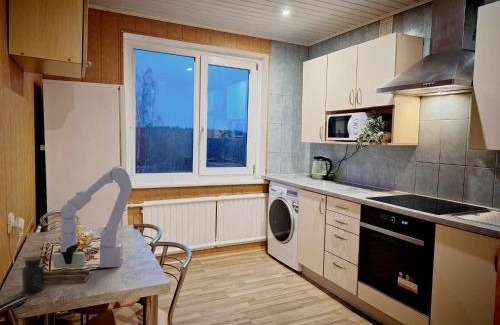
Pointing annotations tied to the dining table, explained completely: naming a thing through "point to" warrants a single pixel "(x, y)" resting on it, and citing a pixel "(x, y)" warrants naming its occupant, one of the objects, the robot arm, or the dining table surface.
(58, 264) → the door panel
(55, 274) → the brown flat wooden board
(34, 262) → the supplement bottle
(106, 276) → the dining table surface
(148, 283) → the dining table surface
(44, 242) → the dining table surface
